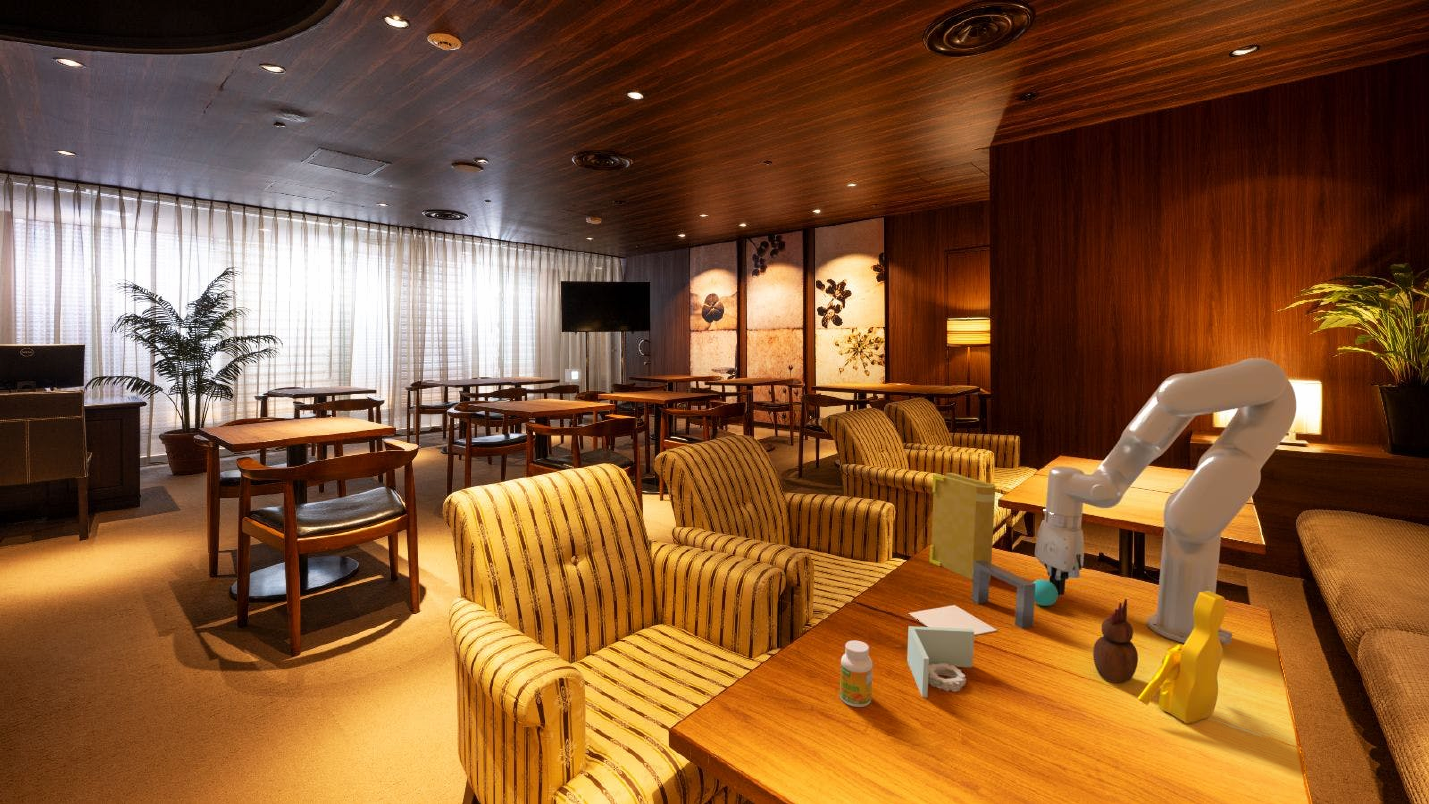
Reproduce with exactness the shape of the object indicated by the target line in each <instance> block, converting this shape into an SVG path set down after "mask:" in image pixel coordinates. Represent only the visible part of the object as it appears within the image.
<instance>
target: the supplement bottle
mask: <svg viewBox="0 0 1429 804" xmlns="http://www.w3.org/2000/svg"><path fill="white" fill-rule="evenodd" d="M844 646H845V649H844V650H845V651H844V652H845V653H844V654H843V655H842V656H841V659H840V676H839V677H840V680H839V682H840V683H839V697H840V700H841V701H842V702H843V703H844V704H846V705H848V706H850V707H855V708H863V707H867V706H869V705H870V704H871V702H872V696H873V695H872V692H873V667H874V666H873V661H872V658H871V657H870V656H869V654H870V647H869V644H867V643H866V642H863V641H860V640H849V641H847V642H846V643H845V645H844Z"/></svg>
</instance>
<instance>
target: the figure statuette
mask: <svg viewBox="0 0 1429 804" xmlns="http://www.w3.org/2000/svg"><path fill="white" fill-rule="evenodd" d="M1225 615H1226V599H1225V597H1224V596H1222V595H1219V594H1217V593H1213V592H1210V591H1205V592H1200V593H1199V595H1198V597H1197V600H1196V602H1195V605H1194V609H1193V617H1194V629H1193V631H1192V633H1191V634H1190V636H1189V638H1188V639H1187V641H1186V642H1185V643H1182V644H1181V643H1180V644H1175V645H1171V646H1170V647H1168V648H1166V649H1165V650H1166V652H1167V653H1166V654H1165V655H1164V657H1163V659H1162V660H1161V666H1160V667H1159V669H1158V670H1157V671H1156V673H1155V675H1154V676H1153V677H1152V678H1151V680H1150V681H1149V683H1148V684H1147V685H1146V687H1144V689H1143V690H1142V692H1141V693H1140V694H1139V696H1138V697H1137V700H1139V701H1140V702H1142V703H1143V704H1145V706H1148V705H1149V704H1150V702H1151V701H1152V699H1153V697H1154V696H1155V695H1156V693H1157V692H1158V691H1159V689H1160V691H1159V699H1158V706H1159V708H1160V709H1161V710H1162V711H1164V712H1165V713H1166V712H1167V713H1169V714H1171V715H1172V716H1174V717H1176V718H1177V719H1178V720H1180V721H1181V722H1183V723H1185V724H1191V723H1194V722H1197V721H1201V720H1204V719H1207V718H1209V717H1211V716H1212V715H1213V713H1214V711H1215V708H1216V705H1217V701H1218V694H1219V683H1218V672H1219V670H1220V666H1221V663H1222V660H1223V654H1224V649H1223V645H1222V643H1221V642H1220V640H1219V637H1218V630H1219V628H1220V629H1221V626H1222V623H1223V621H1224V617H1225Z"/></svg>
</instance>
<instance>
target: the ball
mask: <svg viewBox="0 0 1429 804" xmlns="http://www.w3.org/2000/svg"><path fill="white" fill-rule="evenodd" d="M1032 583H1035V584H1036V585H1035V601H1034V604H1035V603H1036V604H1038V605H1039V606H1041V607H1049V606H1052V605H1054V604H1055V603H1056V602H1057V600H1058V598H1059V595H1058V591H1057V589H1056V587H1055V586H1054V585H1053V584H1052V583H1051V582H1049V580H1047V579H1037V580H1036V579H1035V581H1033V582H1032Z"/></svg>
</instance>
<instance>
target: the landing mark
mask: <svg viewBox="0 0 1429 804" xmlns="http://www.w3.org/2000/svg"><path fill="white" fill-rule="evenodd" d="M909 614H910V615H909ZM908 615H909V616H910V617H913V619H915V620H917V619H918V620H919V621H918V620H917V621H918V622H920V623H921V624H923V625H924V626H925V627H935V628H957V629H973V631H974V636H978V635H984V634H988V633H993V632H997V631H998V629H996V628H995V627H993V626H991V625H989V624H988V623H987V622H984V621H982V620H981V619H979V618H977V617H975V616H974V615H972V614H971V613H969V612H967V611H966V610H964V609H962V608H960V607H958V606H957V605H955V604H953V605H948V606H941V607H937V608H931V609H930V608H929V609H924V610H923V609H922V610H918V611H913V612H908Z"/></svg>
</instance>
